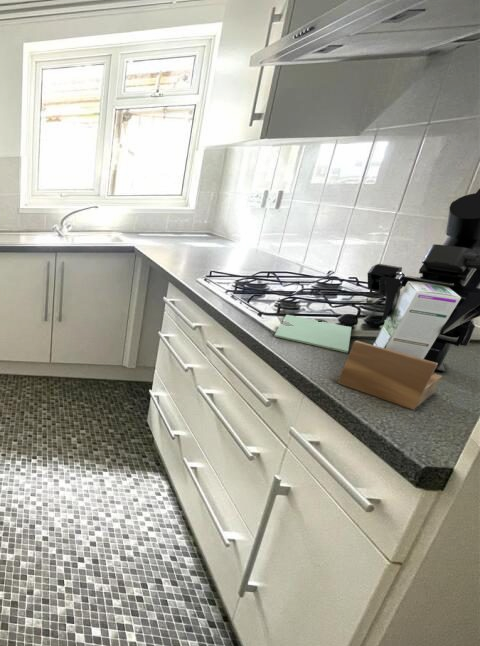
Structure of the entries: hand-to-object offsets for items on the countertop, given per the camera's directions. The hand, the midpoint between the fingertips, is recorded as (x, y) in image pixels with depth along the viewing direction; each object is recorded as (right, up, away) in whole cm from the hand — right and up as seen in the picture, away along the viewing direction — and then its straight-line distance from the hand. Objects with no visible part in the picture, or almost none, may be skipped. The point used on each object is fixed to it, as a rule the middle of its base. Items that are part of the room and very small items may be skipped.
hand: (411, 325), depth 74 cm
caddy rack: (+1, -12, +6) cm, 13 cm away
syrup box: (+1, -7, +5) cm, 8 cm away
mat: (+9, -1, +32) cm, 33 cm away
